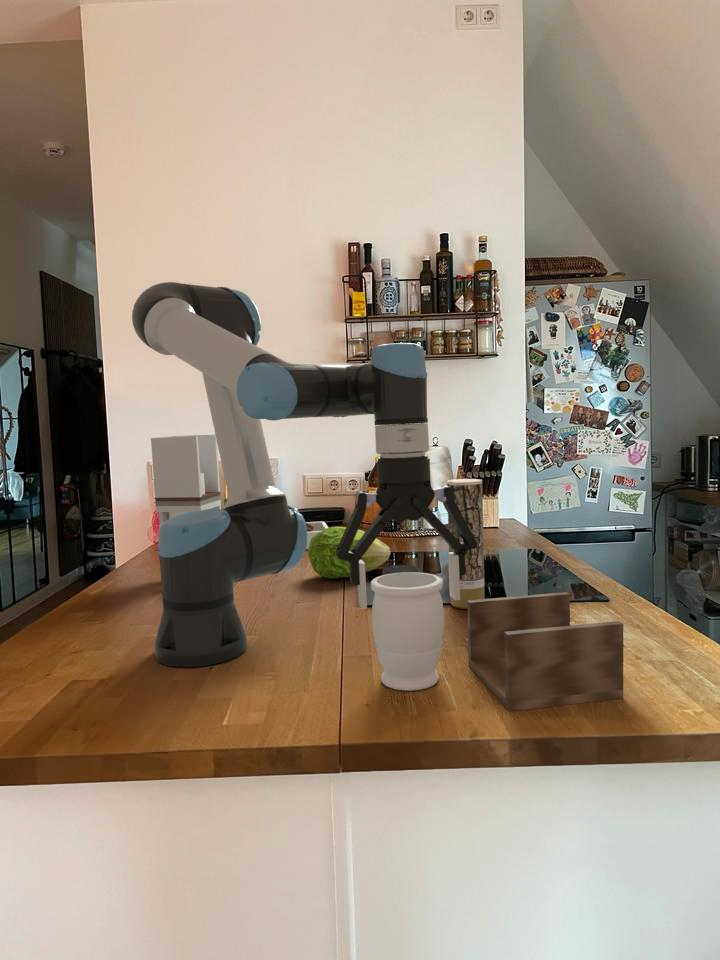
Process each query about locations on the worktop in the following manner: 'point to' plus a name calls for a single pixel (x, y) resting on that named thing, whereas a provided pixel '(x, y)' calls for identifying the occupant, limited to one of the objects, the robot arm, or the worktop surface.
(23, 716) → the worktop surface
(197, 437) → the display case
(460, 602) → the paper tube
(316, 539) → the lettuce
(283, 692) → the worktop surface
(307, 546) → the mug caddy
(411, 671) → the jar
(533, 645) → the holder
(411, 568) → the smart speaker
